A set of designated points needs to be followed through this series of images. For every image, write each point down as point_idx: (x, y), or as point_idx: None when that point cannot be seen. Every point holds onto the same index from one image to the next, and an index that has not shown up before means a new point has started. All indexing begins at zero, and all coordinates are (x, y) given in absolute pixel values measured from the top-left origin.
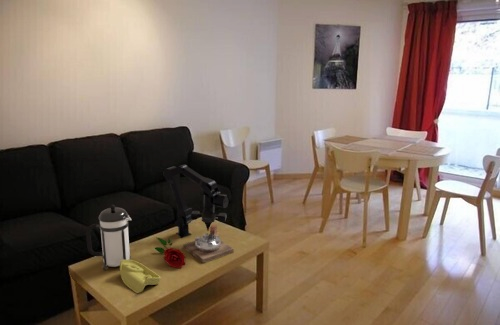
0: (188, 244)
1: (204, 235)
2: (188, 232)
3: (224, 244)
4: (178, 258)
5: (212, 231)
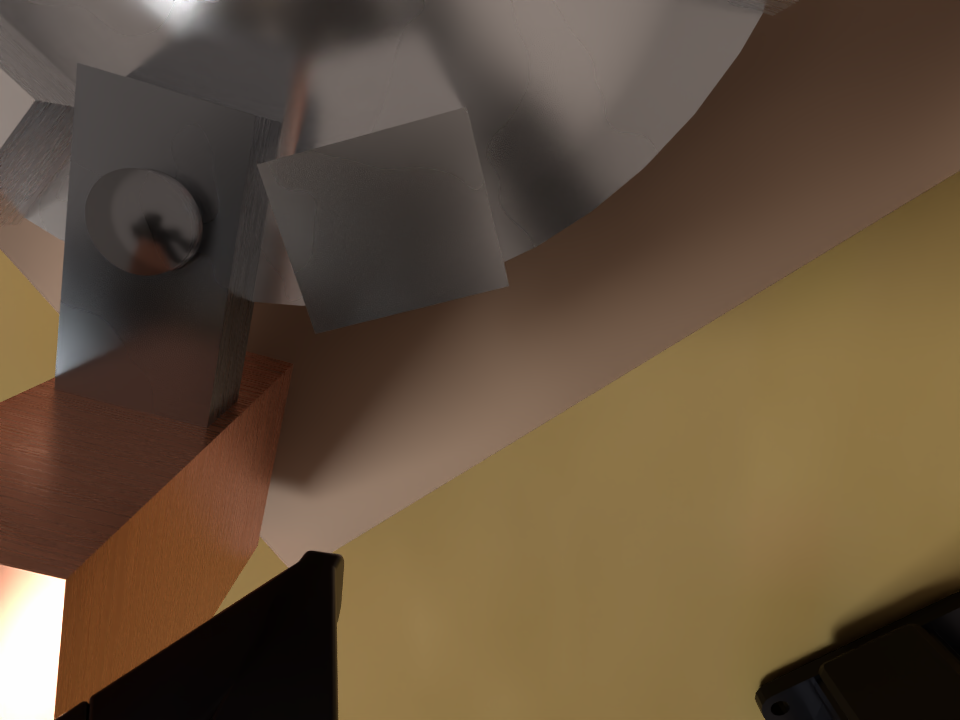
0: (945, 48)
1: (434, 119)
2: (859, 714)
3: None
4: None
5: (88, 434)
